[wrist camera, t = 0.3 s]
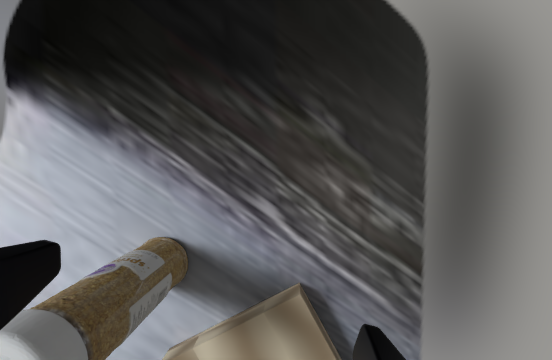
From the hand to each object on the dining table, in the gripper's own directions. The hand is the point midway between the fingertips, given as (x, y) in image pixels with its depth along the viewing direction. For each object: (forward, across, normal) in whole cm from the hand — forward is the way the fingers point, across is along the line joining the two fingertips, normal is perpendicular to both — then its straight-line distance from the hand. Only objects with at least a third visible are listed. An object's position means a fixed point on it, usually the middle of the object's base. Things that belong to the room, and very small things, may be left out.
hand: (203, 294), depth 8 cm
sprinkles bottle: (+13, +8, +9) cm, 18 cm away
